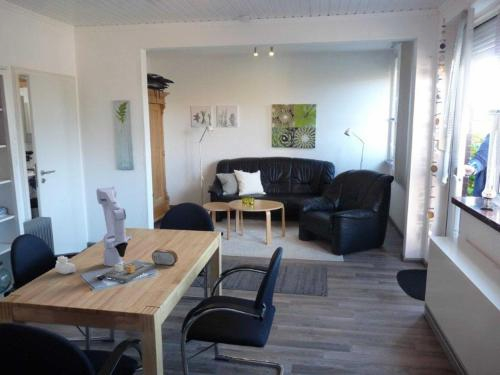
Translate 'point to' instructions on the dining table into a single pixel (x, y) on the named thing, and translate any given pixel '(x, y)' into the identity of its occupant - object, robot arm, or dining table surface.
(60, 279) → the dining table surface
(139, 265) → the fader board
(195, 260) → the dining table surface
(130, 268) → the block
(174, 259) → the tin
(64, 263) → the white irregular lump
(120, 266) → the pale fader
